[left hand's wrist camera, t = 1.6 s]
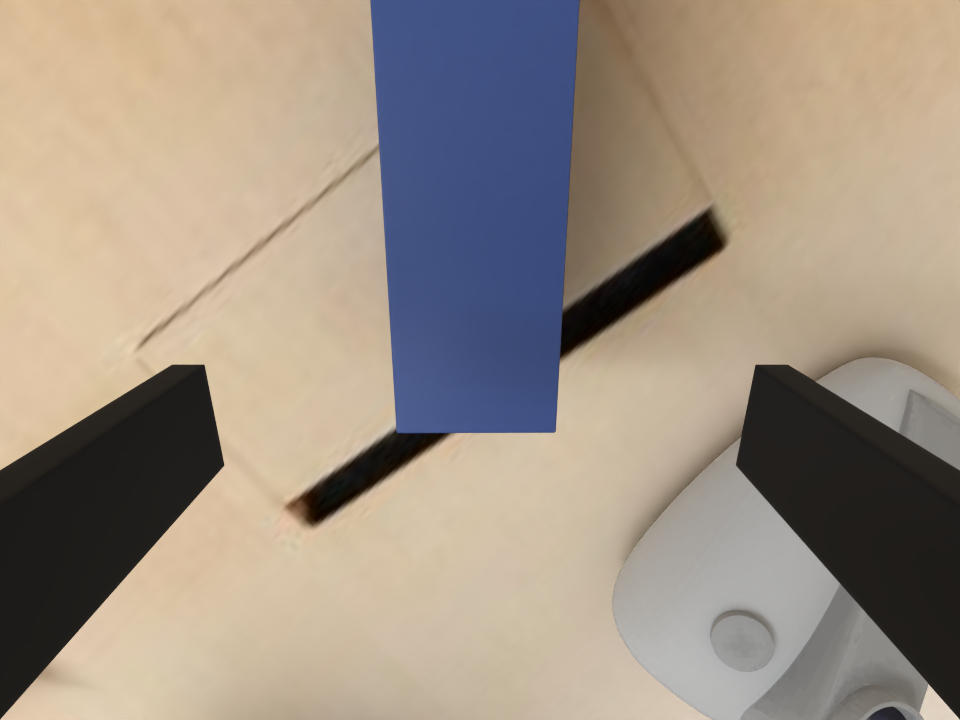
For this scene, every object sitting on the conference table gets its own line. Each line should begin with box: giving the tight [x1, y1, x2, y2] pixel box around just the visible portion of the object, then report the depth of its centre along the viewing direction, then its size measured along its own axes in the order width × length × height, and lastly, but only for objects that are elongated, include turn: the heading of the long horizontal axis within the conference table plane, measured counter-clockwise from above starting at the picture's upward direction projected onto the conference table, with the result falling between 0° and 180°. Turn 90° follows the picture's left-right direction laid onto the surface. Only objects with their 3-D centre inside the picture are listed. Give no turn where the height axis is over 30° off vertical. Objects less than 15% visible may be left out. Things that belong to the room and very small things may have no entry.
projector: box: [612, 357, 960, 720], centre depth 28 cm, size 22×23×15 cm
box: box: [370, 0, 580, 433], centre depth 21 cm, size 26×6×11 cm, turn 0°
